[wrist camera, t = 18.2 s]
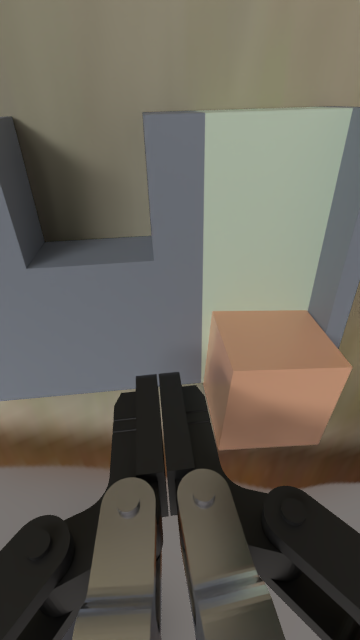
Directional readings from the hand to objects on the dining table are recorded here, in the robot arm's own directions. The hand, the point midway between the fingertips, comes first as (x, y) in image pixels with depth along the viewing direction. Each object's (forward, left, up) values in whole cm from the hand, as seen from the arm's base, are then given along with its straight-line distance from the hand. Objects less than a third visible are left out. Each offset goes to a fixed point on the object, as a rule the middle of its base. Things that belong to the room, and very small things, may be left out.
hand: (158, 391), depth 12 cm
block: (+2, +5, -4) cm, 7 cm away
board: (-2, -8, -7) cm, 11 cm away
